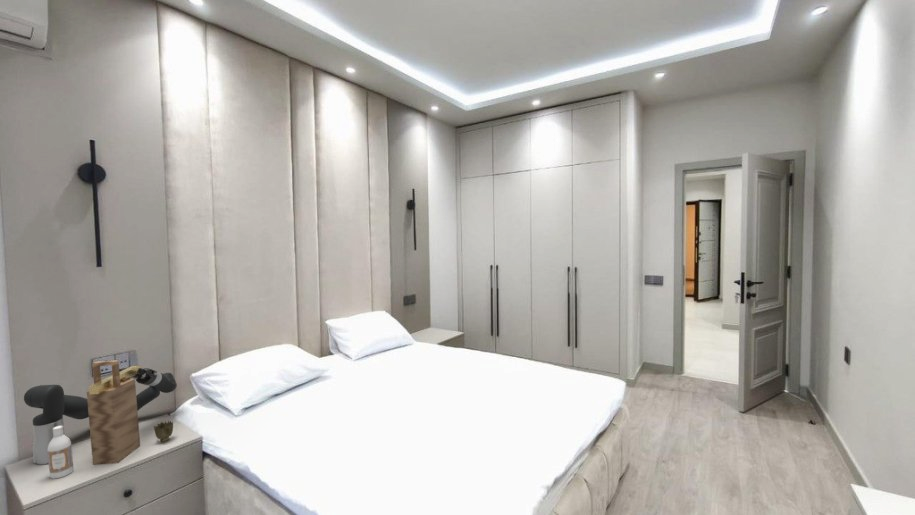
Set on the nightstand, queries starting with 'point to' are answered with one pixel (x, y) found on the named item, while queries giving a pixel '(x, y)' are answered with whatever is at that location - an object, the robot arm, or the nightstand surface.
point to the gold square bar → (108, 381)
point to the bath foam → (60, 454)
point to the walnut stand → (113, 417)
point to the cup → (164, 430)
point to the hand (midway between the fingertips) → (128, 371)
